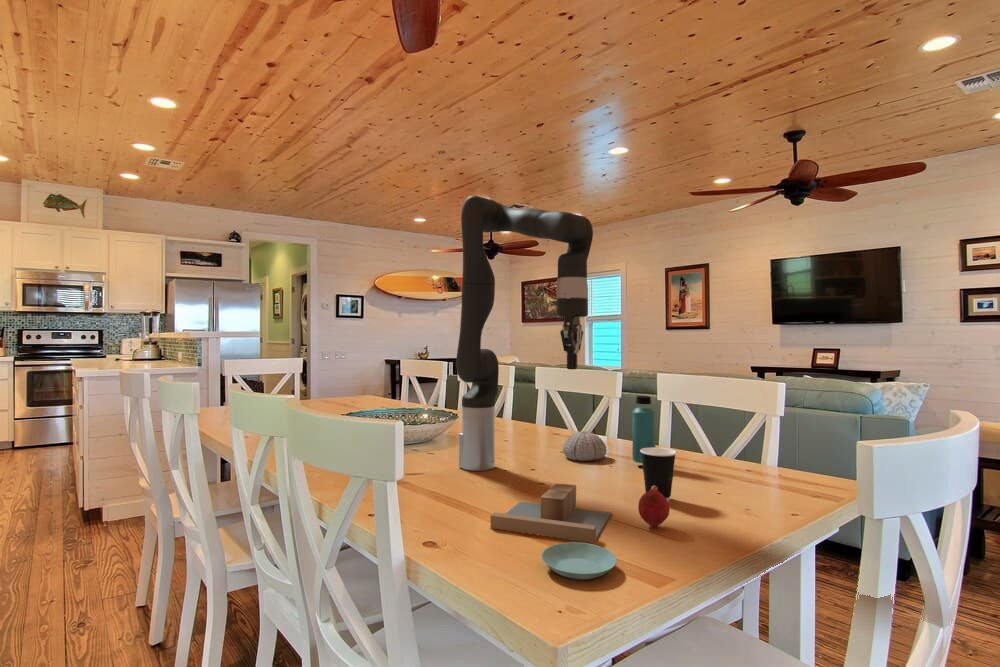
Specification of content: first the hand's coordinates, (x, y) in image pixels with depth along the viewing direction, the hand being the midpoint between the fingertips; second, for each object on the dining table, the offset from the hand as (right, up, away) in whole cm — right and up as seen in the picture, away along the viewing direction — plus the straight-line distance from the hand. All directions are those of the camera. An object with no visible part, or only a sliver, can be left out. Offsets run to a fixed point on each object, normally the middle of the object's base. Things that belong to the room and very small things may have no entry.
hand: (572, 369), depth 131 cm
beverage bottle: (+24, -29, +24) cm, 45 cm away
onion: (+12, -29, -26) cm, 41 cm away
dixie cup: (+19, -29, -7) cm, 35 cm away
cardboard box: (-3, -26, -13) cm, 29 cm away
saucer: (-5, -29, -44) cm, 54 cm away
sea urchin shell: (+8, -30, +34) cm, 46 cm away
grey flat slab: (-6, -29, -21) cm, 36 cm away
